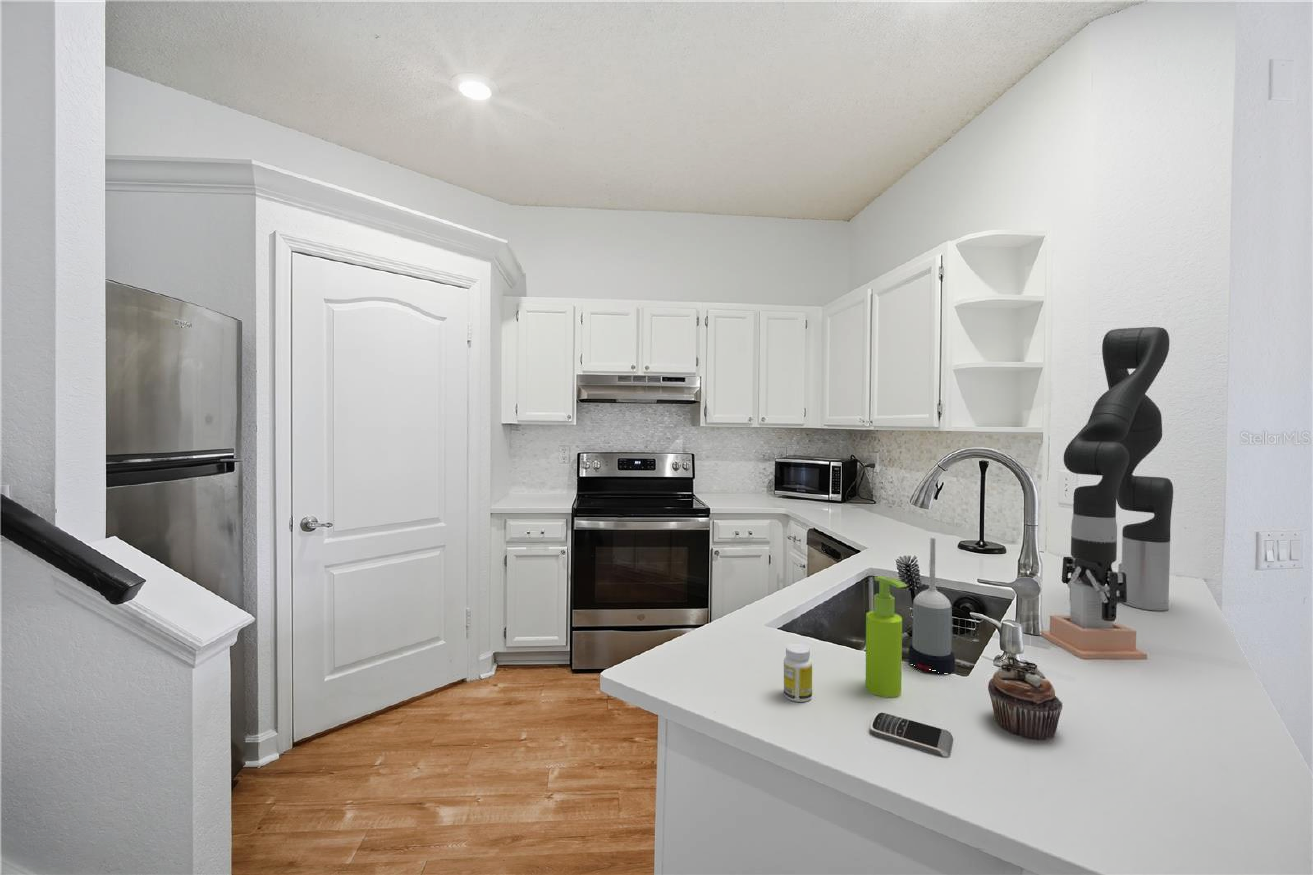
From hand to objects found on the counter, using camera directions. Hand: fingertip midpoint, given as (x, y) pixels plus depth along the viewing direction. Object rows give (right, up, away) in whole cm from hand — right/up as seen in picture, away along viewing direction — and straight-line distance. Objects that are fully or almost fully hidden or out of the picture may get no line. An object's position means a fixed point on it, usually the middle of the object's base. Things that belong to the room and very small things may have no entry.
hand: (1091, 613), depth 115 cm
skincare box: (0, -6, 0) cm, 6 cm away
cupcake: (-34, -8, -30) cm, 46 cm away
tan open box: (0, -7, 0) cm, 7 cm away
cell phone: (-53, -9, -32) cm, 63 cm away
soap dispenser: (-51, -8, -18) cm, 55 cm away
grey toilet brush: (-38, -8, -9) cm, 40 cm away
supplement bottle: (-67, -8, -20) cm, 71 cm away
